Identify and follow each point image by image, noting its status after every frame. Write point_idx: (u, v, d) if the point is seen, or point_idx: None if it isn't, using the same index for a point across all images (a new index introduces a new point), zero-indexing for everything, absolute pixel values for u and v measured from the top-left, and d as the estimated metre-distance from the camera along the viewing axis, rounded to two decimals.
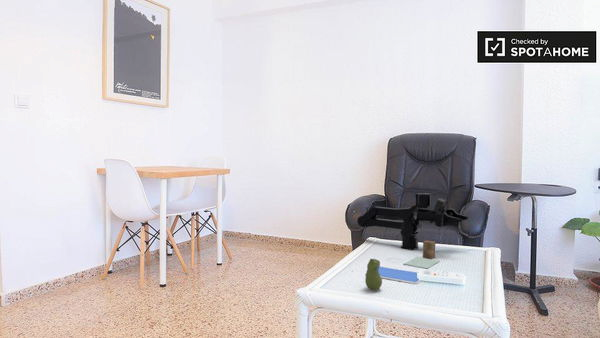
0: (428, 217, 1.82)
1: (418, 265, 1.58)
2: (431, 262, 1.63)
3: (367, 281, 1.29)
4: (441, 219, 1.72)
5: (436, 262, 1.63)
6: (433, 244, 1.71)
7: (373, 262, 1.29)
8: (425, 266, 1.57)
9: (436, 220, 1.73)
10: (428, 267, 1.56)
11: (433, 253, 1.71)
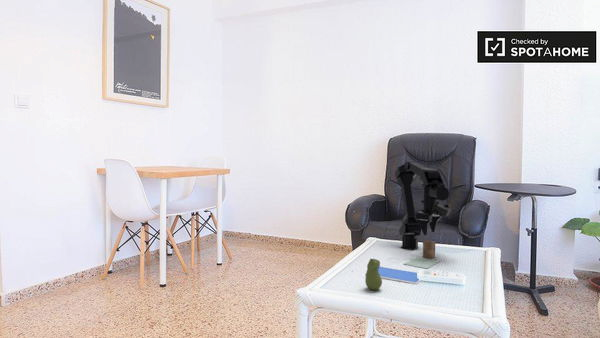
0: (426, 199, 1.70)
1: (418, 265, 1.58)
2: (431, 262, 1.63)
3: (367, 281, 1.29)
4: None
5: (436, 262, 1.63)
6: (433, 244, 1.71)
7: (373, 262, 1.29)
8: (425, 266, 1.57)
9: (420, 214, 1.65)
10: (428, 267, 1.56)
11: (433, 253, 1.71)
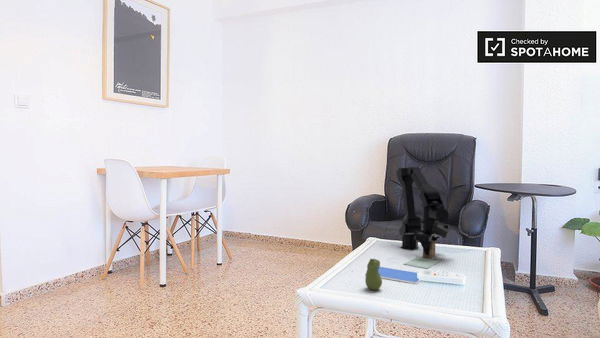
0: (426, 220, 1.70)
1: (418, 265, 1.58)
2: (431, 262, 1.63)
3: (367, 281, 1.29)
4: (422, 240, 1.65)
5: (436, 262, 1.63)
6: (433, 244, 1.71)
7: (373, 262, 1.29)
8: (425, 266, 1.57)
9: (420, 235, 1.65)
10: (428, 267, 1.56)
11: (433, 253, 1.71)
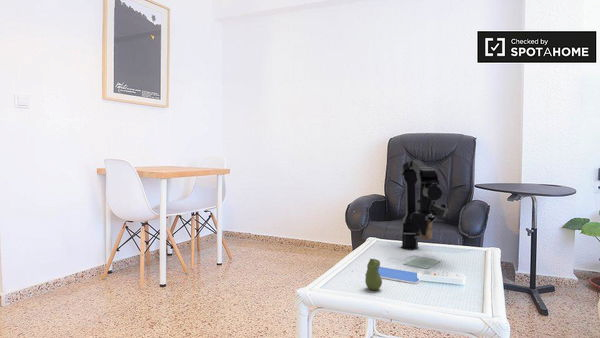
0: (422, 199, 1.64)
1: (418, 265, 1.58)
2: (431, 262, 1.63)
3: (367, 281, 1.29)
4: (418, 219, 1.59)
5: (436, 262, 1.63)
6: (430, 224, 1.64)
7: (373, 262, 1.29)
8: (425, 266, 1.57)
9: (416, 215, 1.59)
10: (428, 267, 1.56)
11: (430, 233, 1.65)
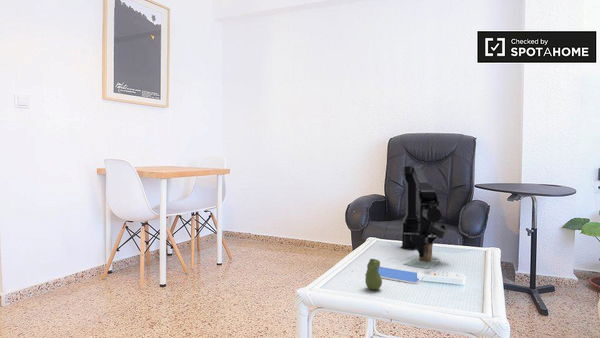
0: (422, 219, 1.64)
1: (418, 265, 1.58)
2: (431, 262, 1.63)
3: (367, 281, 1.29)
4: None
5: (436, 262, 1.63)
6: (430, 246, 1.65)
7: (373, 262, 1.29)
8: (425, 266, 1.57)
9: (416, 236, 1.59)
10: (428, 267, 1.56)
11: (430, 256, 1.65)
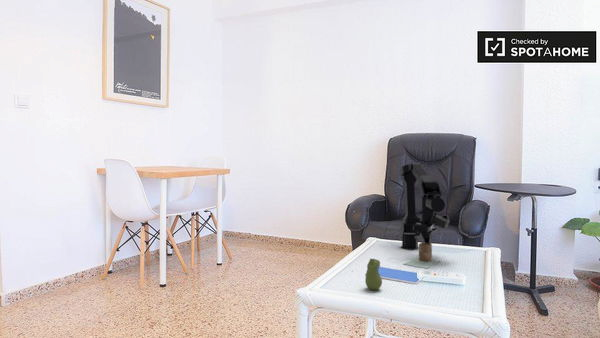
0: (424, 210, 1.66)
1: (418, 265, 1.58)
2: (431, 262, 1.63)
3: (367, 281, 1.29)
4: (420, 231, 1.61)
5: (436, 262, 1.63)
6: (429, 246, 1.64)
7: (373, 262, 1.29)
8: (425, 266, 1.57)
9: (418, 226, 1.61)
10: (428, 267, 1.56)
11: (429, 255, 1.65)
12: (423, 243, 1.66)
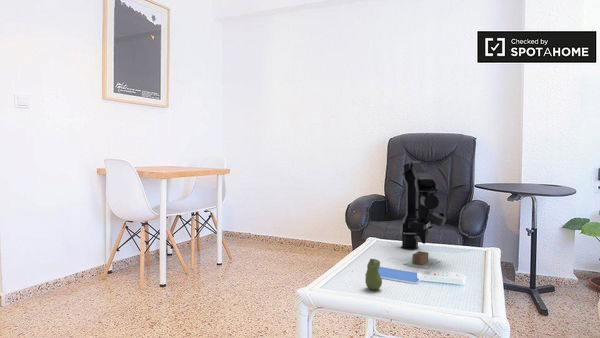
0: (420, 207, 1.62)
1: (418, 265, 1.58)
2: (431, 262, 1.63)
3: (367, 281, 1.29)
4: (416, 228, 1.57)
5: (436, 262, 1.63)
6: (422, 261, 1.59)
7: (373, 262, 1.29)
8: (425, 266, 1.57)
9: (414, 224, 1.57)
10: (428, 267, 1.56)
11: (426, 258, 1.62)
12: (415, 259, 1.60)
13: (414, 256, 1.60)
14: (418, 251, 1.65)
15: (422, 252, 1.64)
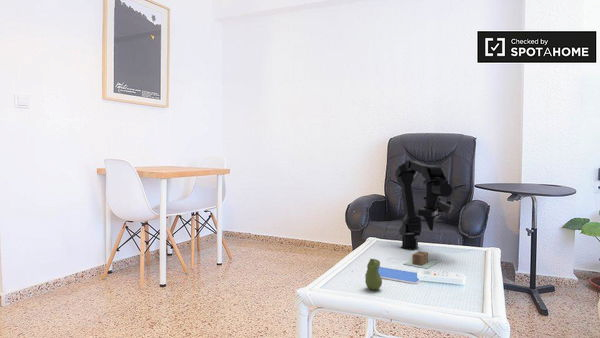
0: (428, 195, 1.69)
1: (418, 265, 1.58)
2: (431, 262, 1.63)
3: (367, 281, 1.29)
4: (425, 215, 1.64)
5: (436, 262, 1.63)
6: (422, 261, 1.59)
7: (373, 262, 1.29)
8: (425, 266, 1.57)
9: (423, 211, 1.64)
10: (428, 267, 1.56)
11: (426, 258, 1.62)
12: (415, 259, 1.60)
13: (414, 256, 1.60)
14: (418, 251, 1.65)
15: (422, 252, 1.64)
